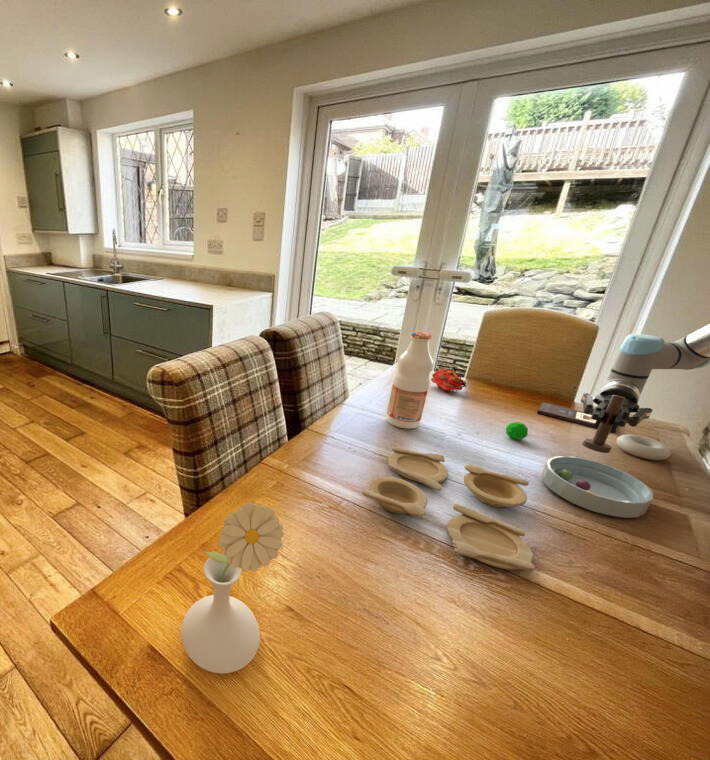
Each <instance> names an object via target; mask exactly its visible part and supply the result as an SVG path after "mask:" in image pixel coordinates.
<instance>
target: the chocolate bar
mask: <svg viewBox="0 0 710 760" xmlns="http://www.w3.org/2000/svg"><path fill="white" fill-rule="evenodd" d="M537 414H541V415H544V416H548V417H552V418H555V419H560V420H563V421H568V422H572V423H576V424H580V425H583V426H587V427H590V428H594V429H598V428H597V427H594V425H595V423H596V420H593V419H591V416H592V414H591V413H590V414H585V413H583V411H582V410H579V409H578V410H577V409H574V408H570V407H565V406H561V405H556V404H552V403H549V402H544V401H541V404H540V406H539V408H538V410H537ZM616 432H617V430H616V431H615V432H613V433H616ZM610 433H612V432H611V431H610Z"/></svg>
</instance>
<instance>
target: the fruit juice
mask: <svg viewBox="0 0 710 760" xmlns="http://www.w3.org/2000/svg"><path fill="white" fill-rule="evenodd" d="M410 339H411V341H410V343H409V344H408V346H407V348H406V349H405V350H404V351H403V353H401V355H399V356H398V359H397V371H396V372H395V374H394V377H393V379H392V385H391V390H390V394H389V399H388V404H387V410H386V414H385V419H386V421H387V422H388V423H389V425H392V426H394V427H397V428H401V429H407V430H411V429H416V428H419V426H420V424H421V420H422V416H423V412H424V408H425V404H426V400H427V396H428V392H429V388H430V380H431V379H430V374H431V372H432V370H433V368H434V360H433V358H432V356H431V353H430V346H429V345H430V344H429V343H430V341H431V339H432V334H431V333H429V332H426V331H412V332H411V335H410Z"/></svg>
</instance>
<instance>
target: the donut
mask: <svg viewBox="0 0 710 760" xmlns="http://www.w3.org/2000/svg"><path fill="white" fill-rule="evenodd" d="M615 441H616V446H617V447H618V448H619V449H620V450H622V451H624V452H625V453H627V454H629V455H632V456H634V457H637V458H641V459H645V460H649V461H664V460H667V459H668V458H669V457H671V455H672V451H671V449H670V448H669V447H668V446H667V445H666V444H664V443H663V442H660V441H659V440H657V439H654V438H650V437H648V436H644V435H638V434H629V433H628V434H627V433H626V434H622V435H620V436H618V437H617V438H616V440H615Z"/></svg>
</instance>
